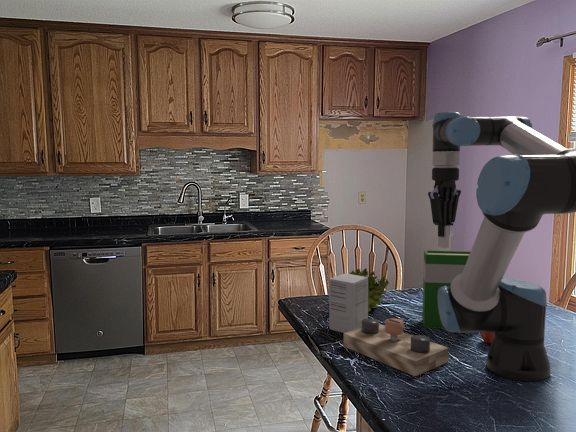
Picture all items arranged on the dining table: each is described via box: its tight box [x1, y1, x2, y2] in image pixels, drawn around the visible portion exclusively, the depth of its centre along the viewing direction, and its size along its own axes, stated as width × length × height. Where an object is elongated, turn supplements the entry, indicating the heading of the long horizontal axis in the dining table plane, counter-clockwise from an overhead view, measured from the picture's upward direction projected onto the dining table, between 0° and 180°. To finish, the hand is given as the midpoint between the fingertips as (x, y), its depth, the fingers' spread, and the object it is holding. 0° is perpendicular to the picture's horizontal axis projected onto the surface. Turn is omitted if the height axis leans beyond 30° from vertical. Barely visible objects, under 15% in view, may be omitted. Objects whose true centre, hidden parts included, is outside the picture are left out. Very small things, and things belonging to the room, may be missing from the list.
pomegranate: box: [479, 332, 495, 345], centre depth 151 cm, size 7×7×10 cm
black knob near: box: [411, 334, 431, 353], centre depth 136 cm, size 5×5×7 cm
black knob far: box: [362, 318, 380, 334], centre depth 150 cm, size 5×5×7 cm
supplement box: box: [328, 272, 369, 334], centre depth 164 cm, size 10×9×17 cm
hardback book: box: [421, 249, 471, 330], centre depth 166 cm, size 18×7×24 cm, turn 80°
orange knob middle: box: [384, 317, 404, 343], centre depth 143 cm, size 5×5×7 cm
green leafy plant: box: [348, 267, 390, 313], centre depth 186 cm, size 18×16×16 cm
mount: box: [343, 323, 450, 377], centre depth 144 cm, size 26×14×4 cm, turn 38°
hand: (443, 247), depth 150 cm, fingers closed
